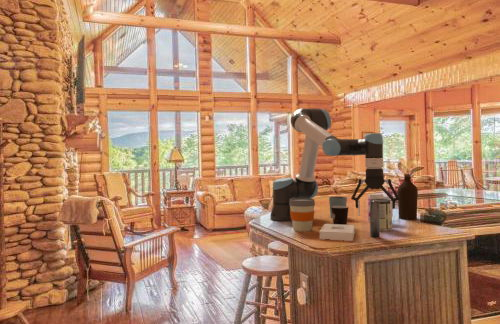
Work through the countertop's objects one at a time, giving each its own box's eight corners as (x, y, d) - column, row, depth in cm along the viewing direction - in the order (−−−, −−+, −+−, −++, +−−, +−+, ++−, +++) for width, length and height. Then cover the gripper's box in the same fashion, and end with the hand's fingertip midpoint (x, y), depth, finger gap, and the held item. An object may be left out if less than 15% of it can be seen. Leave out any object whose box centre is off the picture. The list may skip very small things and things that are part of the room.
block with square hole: (324, 231, 181) (324, 223, 181) (354, 232, 177) (354, 225, 176) (319, 239, 164) (319, 231, 164) (352, 240, 159) (352, 232, 159)
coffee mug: (349, 228, 187) (349, 208, 187) (331, 227, 188) (331, 208, 188) (347, 223, 198) (347, 205, 198) (331, 223, 200) (331, 204, 200)
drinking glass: (328, 218, 215) (328, 197, 214) (330, 216, 224) (329, 196, 224) (346, 219, 212) (346, 198, 211) (347, 216, 221) (347, 196, 221)
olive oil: (405, 220, 206) (404, 174, 205) (393, 217, 216) (393, 174, 215) (422, 219, 208) (421, 174, 207) (410, 216, 218) (409, 173, 218)
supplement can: (367, 222, 201) (367, 194, 200) (369, 220, 208) (368, 193, 208) (384, 223, 198) (383, 195, 197) (384, 220, 205) (384, 193, 205)
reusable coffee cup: (318, 228, 188) (317, 198, 188) (311, 233, 177) (311, 201, 177) (294, 226, 194) (293, 197, 193) (286, 231, 182) (285, 200, 182)
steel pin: (370, 235, 170) (369, 200, 169) (379, 235, 168) (379, 200, 168) (370, 237, 166) (369, 201, 166) (379, 237, 165) (379, 201, 164)
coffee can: (370, 226, 191) (370, 198, 190) (392, 227, 187) (391, 199, 187) (369, 230, 181) (369, 201, 181) (392, 231, 178) (392, 201, 177)
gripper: (344, 168, 167) (345, 216, 167) (405, 168, 159) (406, 218, 159) (345, 168, 174) (346, 213, 174) (403, 167, 166) (404, 215, 166)
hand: (375, 215), depth 167 cm, fingers open, 13 cm apart
